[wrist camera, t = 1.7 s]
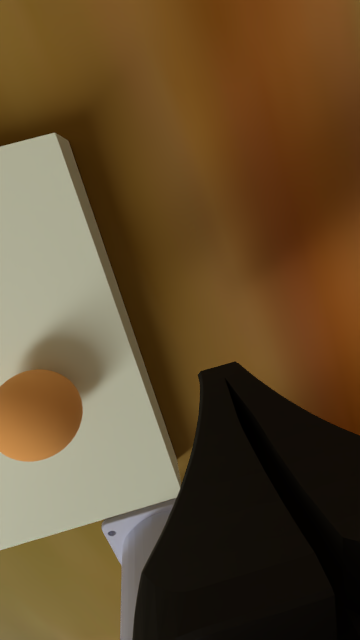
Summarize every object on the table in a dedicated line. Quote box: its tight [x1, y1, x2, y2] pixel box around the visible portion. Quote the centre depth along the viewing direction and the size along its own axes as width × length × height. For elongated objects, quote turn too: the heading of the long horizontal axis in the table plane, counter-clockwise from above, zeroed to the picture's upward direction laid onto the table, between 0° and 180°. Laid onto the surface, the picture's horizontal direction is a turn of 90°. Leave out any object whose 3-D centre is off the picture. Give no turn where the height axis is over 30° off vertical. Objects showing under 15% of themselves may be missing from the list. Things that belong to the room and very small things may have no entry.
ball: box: [0, 369, 83, 462], centre depth 12 cm, size 3×3×3 cm
